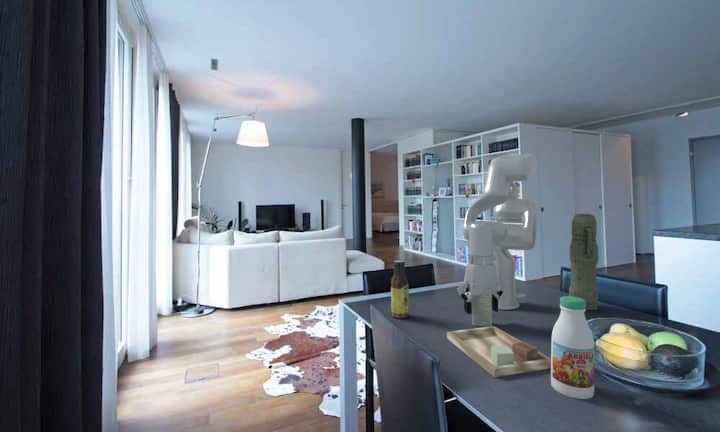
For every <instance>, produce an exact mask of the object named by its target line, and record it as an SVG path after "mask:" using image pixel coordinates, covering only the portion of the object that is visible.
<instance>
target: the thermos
mask: <svg viewBox="0 0 720 432" xmlns="http://www.w3.org/2000/svg"><path fill="white" fill-rule="evenodd" d="M597 225H598V224H597V220H596V218H595V215H593V214H591V213H588V214H587V213H582V214H581V213H580V214H578V213H576V215H574V216H573V217H572V221H571V242H570V244H569V261H570V286H569V287H568V296H573V297H578V298H582V299H584V300H585V301H586V308H585V309H586V310H596V311H597V310H598V303H599V291H598V289H597V269H598V268H597V266H598V263H599V246H598V244H597V230H598V229H597V228H598V227H597Z"/></svg>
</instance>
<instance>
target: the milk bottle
mask: <svg viewBox="0 0 720 432" xmlns="http://www.w3.org/2000/svg"><path fill="white" fill-rule="evenodd" d="M559 308H560V313H559V316H558V319H557V320H556V322H555V324H554V326H553V329H552V332H551V341H550V343H551V345H550V347H551V348H550V349H551V351H550V353H551V354H550V358H551V368H550V385H551V388H553V389H554V390H555V391H556V392H558V393H559V394H562V395H564V396H566V397H569V398H573V399H579V400H588V399H592V398H593V397H594V395H595V341H594V335H593V333H592V330H591V328H590V325H589V324H588V322H587V319H586V315H585V312H587V311H586V309H585V308H586V301H585V300H584V299H582V298H578V297H573V296H569V295H566V296H561V297H559Z"/></svg>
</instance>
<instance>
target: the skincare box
mask: <svg viewBox="0 0 720 432" xmlns="http://www.w3.org/2000/svg"><path fill="white" fill-rule="evenodd" d="M471 303H472V314H471V324H472V326H473V327H474V326H476V327H490V326H493V315H492V314H493V313H492V312H493V310H492V296H491V290H485V293H484V295H481V296H473V298H472V299H471Z"/></svg>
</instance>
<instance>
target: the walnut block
mask: <svg viewBox="0 0 720 432" xmlns="http://www.w3.org/2000/svg"><path fill="white" fill-rule="evenodd" d="M538 349H539V347H536V346H534V345H531V344H530V343H528V342H525V341H521V343H517V344H513V345H512V352H513V353H514V361H515V362H517V363H520V362H527V361H533V360H538V351H539V350H538Z"/></svg>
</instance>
